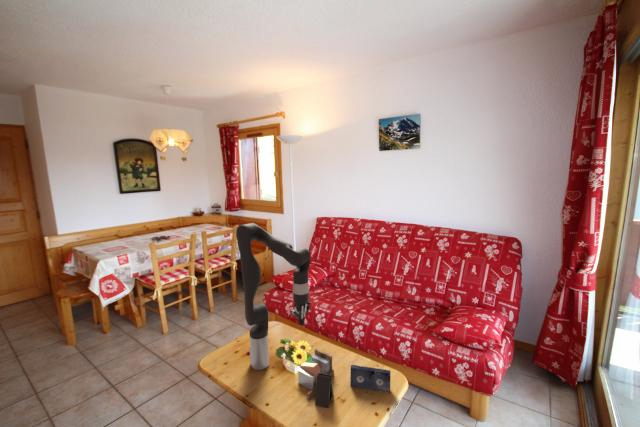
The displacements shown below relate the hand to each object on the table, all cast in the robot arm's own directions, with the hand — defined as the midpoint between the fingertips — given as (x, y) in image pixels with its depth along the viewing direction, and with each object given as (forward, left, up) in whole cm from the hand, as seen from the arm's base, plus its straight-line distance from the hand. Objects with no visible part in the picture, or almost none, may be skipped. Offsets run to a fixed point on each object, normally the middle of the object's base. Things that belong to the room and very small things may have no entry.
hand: (301, 324), depth 146 cm
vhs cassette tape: (+31, +12, -28) cm, 43 cm away
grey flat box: (+6, -4, -28) cm, 29 cm away
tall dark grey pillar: (+6, 0, -28) cm, 29 cm away
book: (+7, -1, -27) cm, 28 cm away
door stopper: (+17, -6, -28) cm, 33 cm away
